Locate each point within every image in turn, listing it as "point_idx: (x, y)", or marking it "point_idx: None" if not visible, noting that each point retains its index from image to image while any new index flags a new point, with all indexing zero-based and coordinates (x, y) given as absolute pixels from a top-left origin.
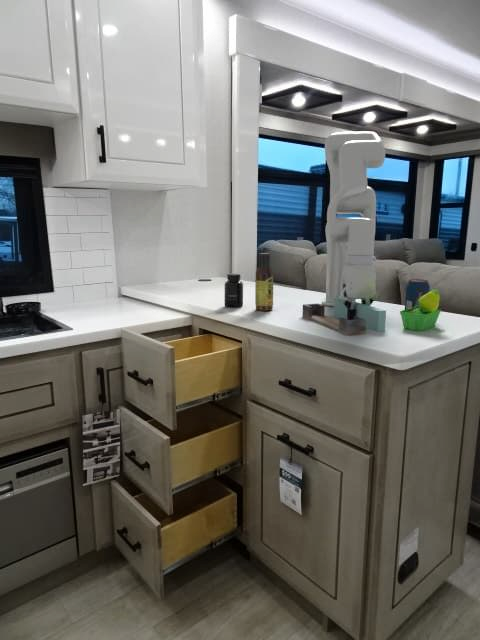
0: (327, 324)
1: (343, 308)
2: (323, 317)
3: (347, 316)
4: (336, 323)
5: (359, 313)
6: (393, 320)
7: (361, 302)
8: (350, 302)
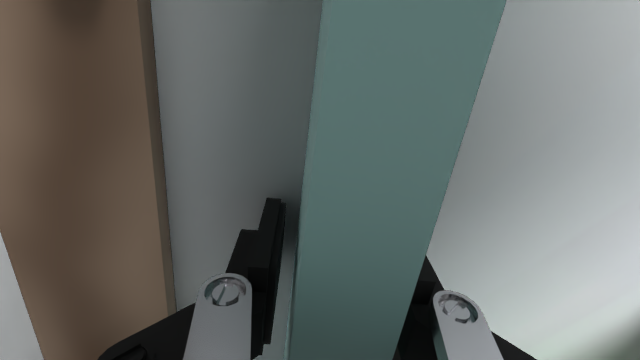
0: (14, 270)
1: (317, 81)
2: (70, 24)
3: (239, 240)
4: (96, 276)
5: (286, 352)
6: (582, 288)
7: (441, 336)
8: (247, 351)
